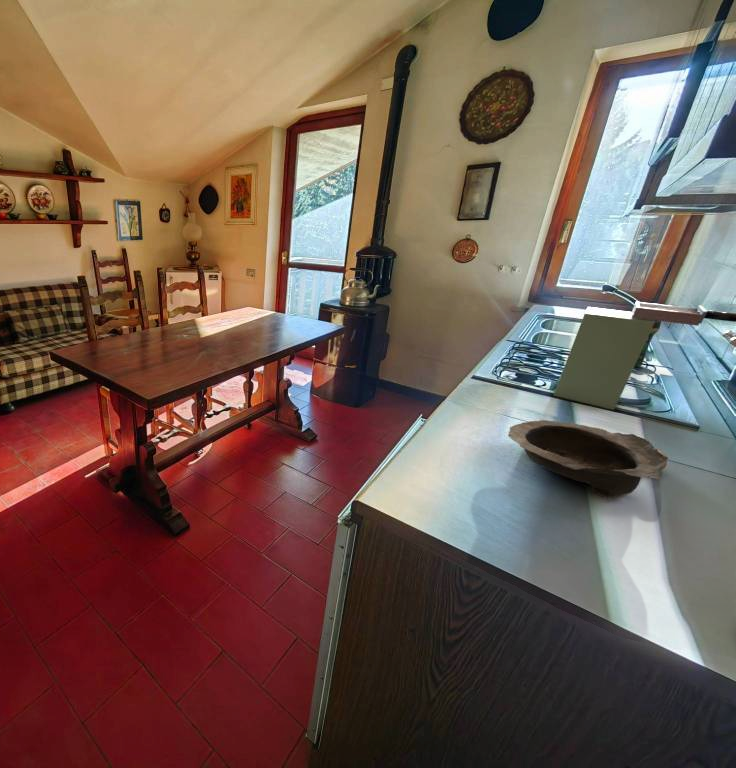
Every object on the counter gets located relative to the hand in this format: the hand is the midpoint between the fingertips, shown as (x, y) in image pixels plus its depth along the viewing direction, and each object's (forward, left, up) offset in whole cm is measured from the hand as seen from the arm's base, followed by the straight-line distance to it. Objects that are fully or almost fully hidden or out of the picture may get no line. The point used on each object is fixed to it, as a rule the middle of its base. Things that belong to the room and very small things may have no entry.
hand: (728, 335), depth 103 cm
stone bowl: (-15, +63, -23) cm, 69 cm away
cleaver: (+2, +11, +4) cm, 12 cm away
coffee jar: (+34, -28, -23) cm, 50 cm away
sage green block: (+14, +19, -23) cm, 33 cm away
